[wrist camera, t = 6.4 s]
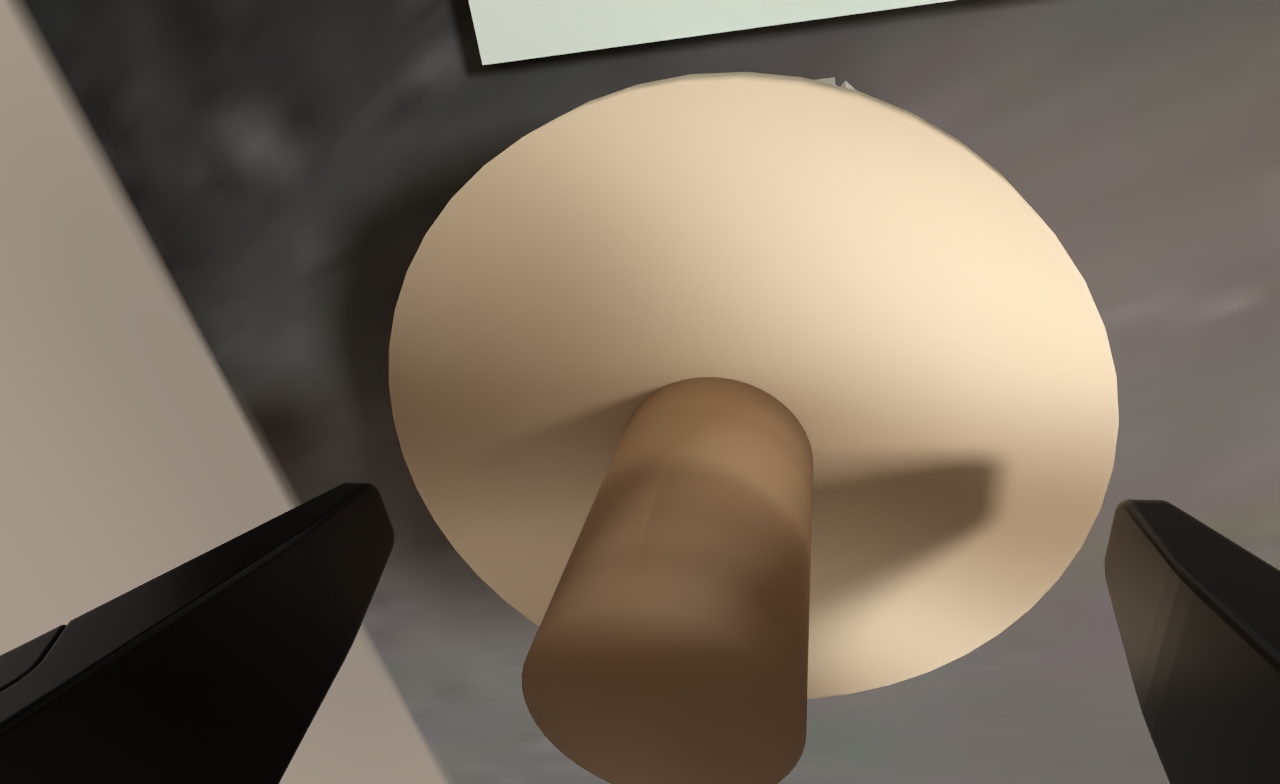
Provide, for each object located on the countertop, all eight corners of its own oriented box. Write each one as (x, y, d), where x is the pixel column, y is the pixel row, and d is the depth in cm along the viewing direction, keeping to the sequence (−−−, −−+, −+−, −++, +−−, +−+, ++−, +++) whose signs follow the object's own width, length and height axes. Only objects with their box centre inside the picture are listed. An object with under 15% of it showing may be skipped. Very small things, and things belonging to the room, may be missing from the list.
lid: (1043, 684, 12) (1159, 1063, 8) (493, 638, 14) (360, 908, 10) (1172, 17, 7) (1622, 84, 3) (329, 117, 10) (-37, 229, 6)
